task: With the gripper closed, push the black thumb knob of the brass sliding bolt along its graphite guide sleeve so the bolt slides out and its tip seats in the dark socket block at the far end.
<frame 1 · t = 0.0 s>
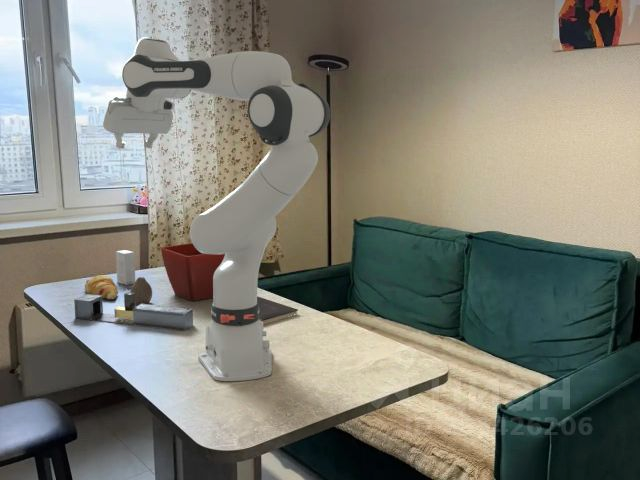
hand: (134, 147, 160), 52 cm above the table, tool tilted 20°, fingers open, 8 cm apart
skincare box: (126, 283, 217), on the table
hardcover book: (255, 313, 187), on the table
guide: (132, 321, 175), on the table
croissant: (100, 295, 202), on the table
plant pot: (198, 295, 204), on the table
sliding bolt: (149, 307, 172), point 5 cm above the table, slide at 0.0 cm
vase: (141, 304, 192), on the table
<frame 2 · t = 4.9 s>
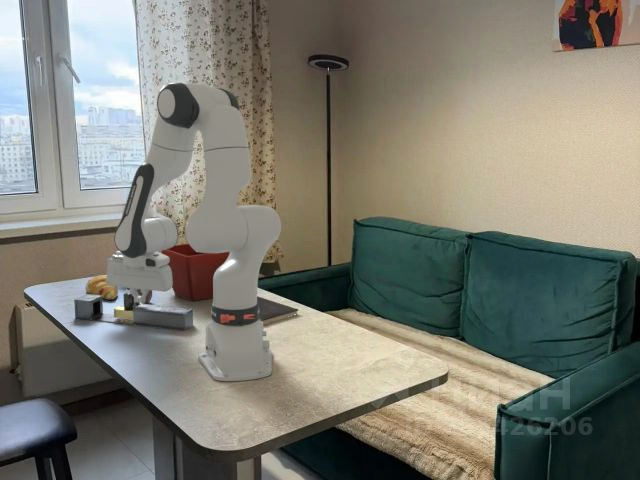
hand: (139, 302, 173), 6 cm above the table, tool pointing down, fingers closed
sliding bolt: (149, 307, 172), point 5 cm above the table, slide at 0.2 cm, touching gripper
everything else where it was.
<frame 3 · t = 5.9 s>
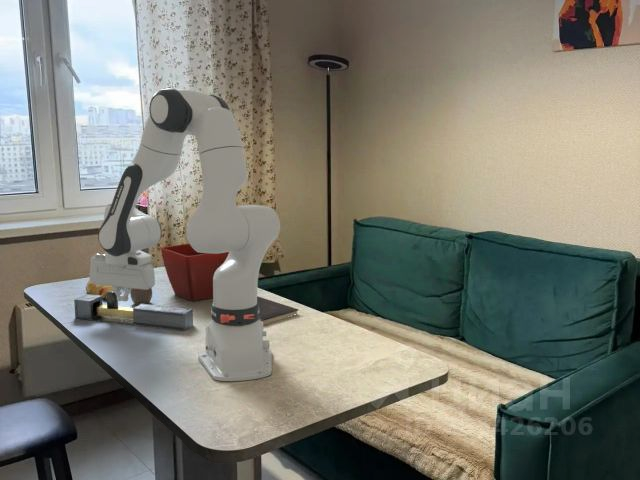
hand: (122, 300, 174), 6 cm above the table, tool pointing down, fingers closed
sliding bolt: (131, 305, 174), point 5 cm above the table, slide at 6.0 cm, touching gripper
everything else where it was.
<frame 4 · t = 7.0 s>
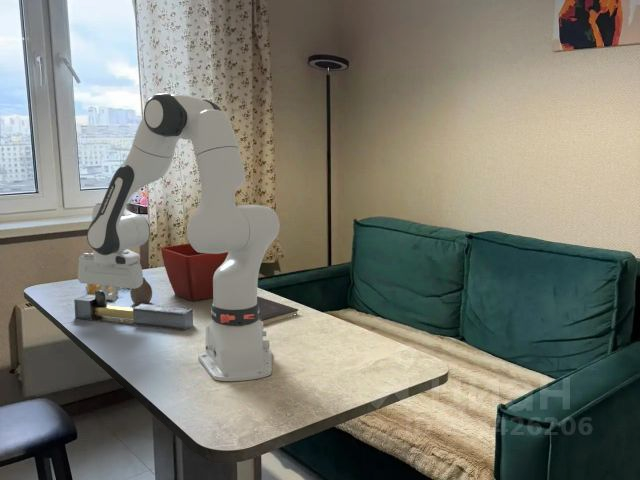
hand: (111, 299, 175), 6 cm above the table, tool pointing down, fingers closed
sliding bolt: (120, 304, 175), point 5 cm above the table, slide at 9.9 cm, touching gripper, guide
everything else where it was.
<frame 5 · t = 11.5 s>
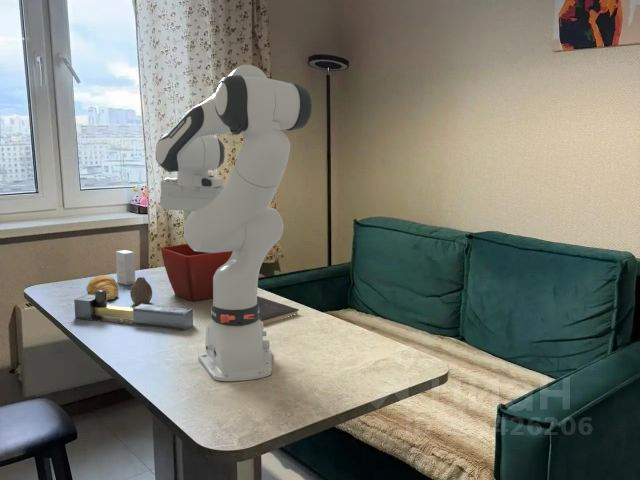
hand: (193, 225, 172), 29 cm above the table, tool pointing down, fingers closed
sliding bolt: (120, 304, 175), point 5 cm above the table, slide at 9.9 cm, touching guide
everything else where it was.
at the end: sliding bolt slide at 9.9 cm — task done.
